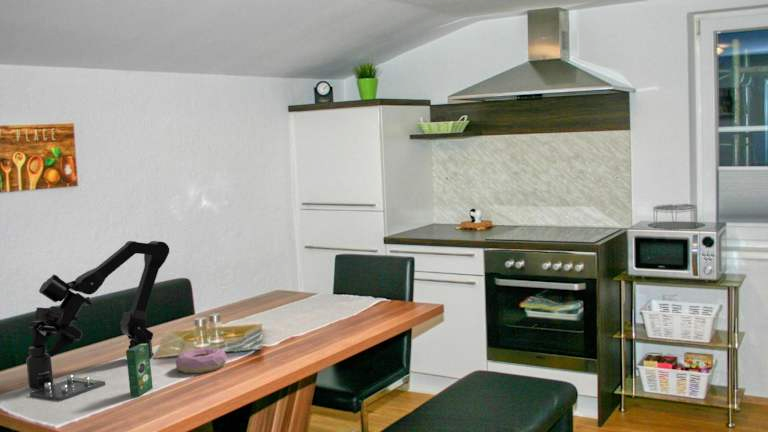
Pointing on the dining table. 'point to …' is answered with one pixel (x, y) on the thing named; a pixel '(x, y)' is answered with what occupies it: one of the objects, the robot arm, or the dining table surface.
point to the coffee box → (139, 369)
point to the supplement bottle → (39, 367)
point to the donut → (201, 360)
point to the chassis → (67, 388)
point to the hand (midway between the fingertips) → (40, 355)
